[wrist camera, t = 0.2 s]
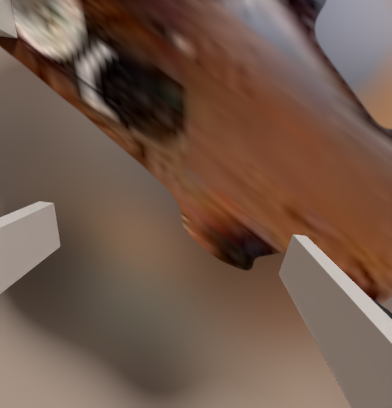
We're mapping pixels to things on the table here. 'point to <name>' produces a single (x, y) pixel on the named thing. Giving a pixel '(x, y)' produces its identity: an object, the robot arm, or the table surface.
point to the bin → (7, 20)
